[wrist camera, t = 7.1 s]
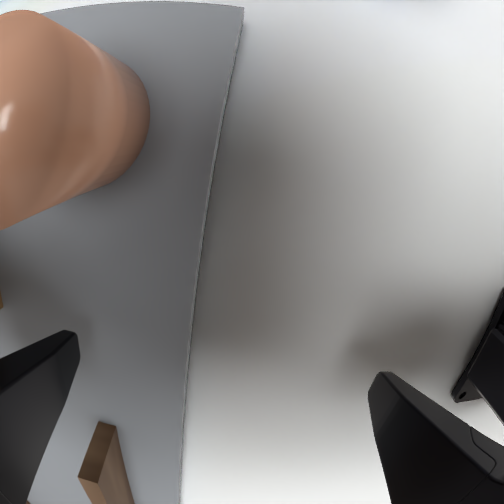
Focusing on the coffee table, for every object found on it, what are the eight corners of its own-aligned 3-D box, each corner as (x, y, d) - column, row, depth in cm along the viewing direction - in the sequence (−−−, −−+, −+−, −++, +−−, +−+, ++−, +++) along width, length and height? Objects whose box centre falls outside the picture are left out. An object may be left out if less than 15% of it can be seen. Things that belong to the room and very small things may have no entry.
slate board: (243, 23, 7) (243, 7, 6) (179, 543, 19) (178, 553, 18) (-87, 70, 5) (-102, 70, 4) (21, 494, 17) (18, 502, 16)
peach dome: (162, 58, 6) (100, -8, 3) (139, 196, 8) (59, 249, 4) (46, 61, 6) (-52, 35, 2) (29, 184, 7) (-71, 220, 3)
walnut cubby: (116, 426, 10) (97, 483, 8) (149, 546, 17) (146, 571, 14) (-72, 343, 9) (-100, 372, 6) (29, 506, 16) (22, 527, 13)
